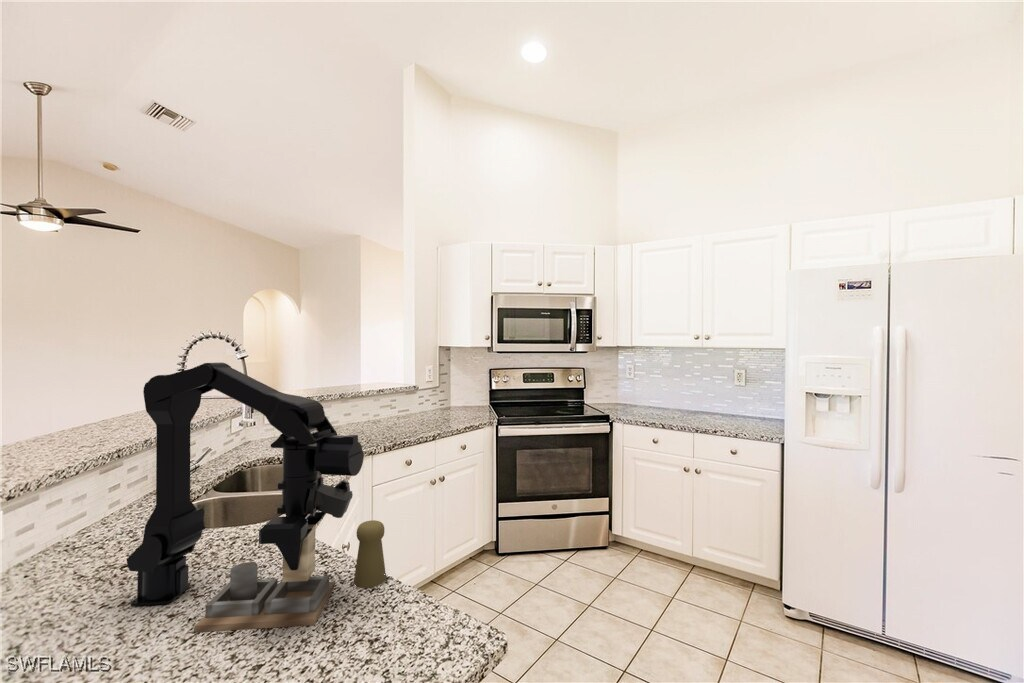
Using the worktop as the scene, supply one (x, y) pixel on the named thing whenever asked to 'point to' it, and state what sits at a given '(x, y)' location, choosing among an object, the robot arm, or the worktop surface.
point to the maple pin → (302, 560)
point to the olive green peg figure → (370, 555)
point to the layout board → (264, 602)
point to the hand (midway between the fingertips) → (298, 563)
